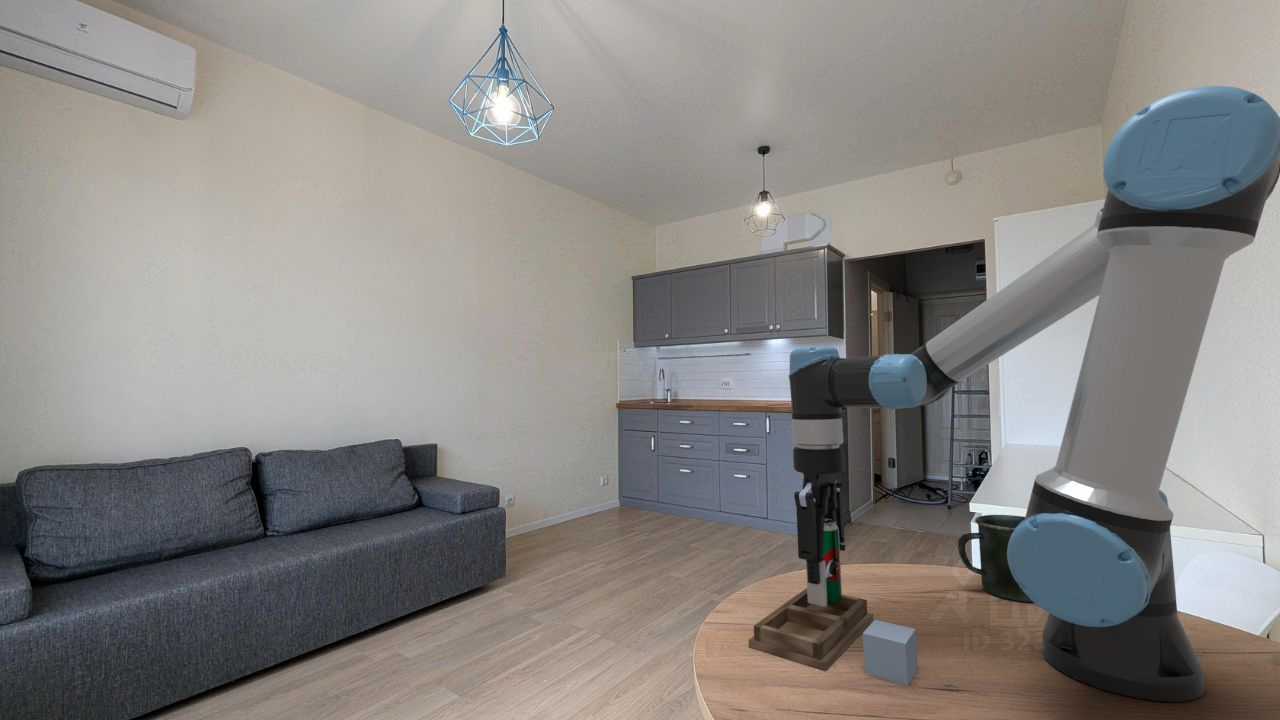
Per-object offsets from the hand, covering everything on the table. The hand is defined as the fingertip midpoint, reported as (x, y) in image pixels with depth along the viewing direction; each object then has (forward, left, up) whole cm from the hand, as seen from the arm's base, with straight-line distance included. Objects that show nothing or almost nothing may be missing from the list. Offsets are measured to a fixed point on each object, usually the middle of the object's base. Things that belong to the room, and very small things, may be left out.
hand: (824, 597), depth 84 cm
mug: (-20, -30, -4) cm, 36 cm away
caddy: (0, +4, -4) cm, 6 cm away
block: (-12, +9, -4) cm, 15 cm away
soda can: (0, 0, 0) cm, 0 cm away
